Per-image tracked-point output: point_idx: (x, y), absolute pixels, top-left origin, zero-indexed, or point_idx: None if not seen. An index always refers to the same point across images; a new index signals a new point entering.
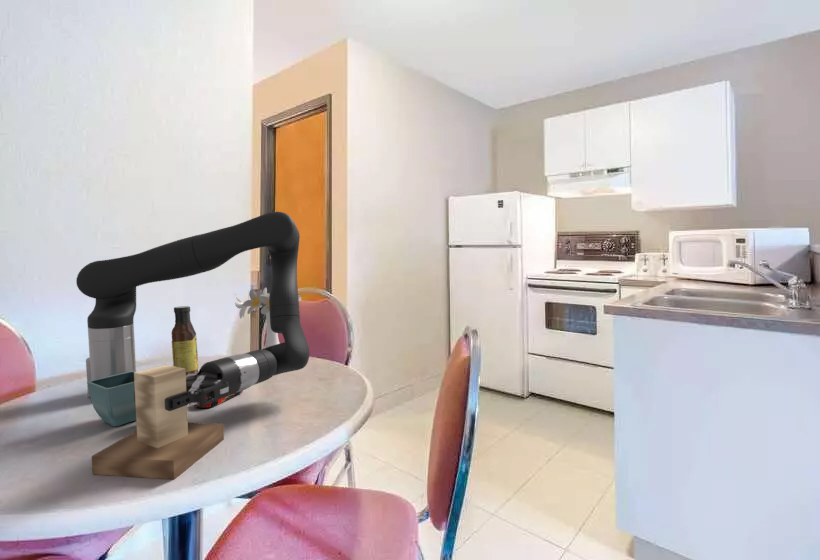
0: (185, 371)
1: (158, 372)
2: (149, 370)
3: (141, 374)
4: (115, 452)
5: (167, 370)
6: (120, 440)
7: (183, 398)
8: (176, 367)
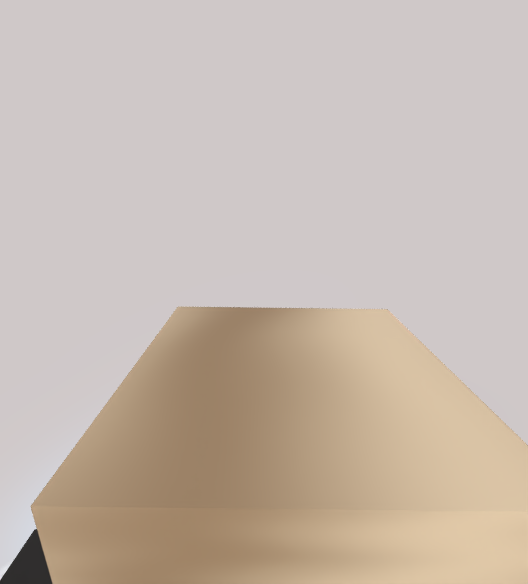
0: (44, 548)
1: (243, 339)
2: (373, 344)
3: (306, 308)
4: None
5: (224, 379)
6: None
7: (30, 548)
8: (242, 485)
